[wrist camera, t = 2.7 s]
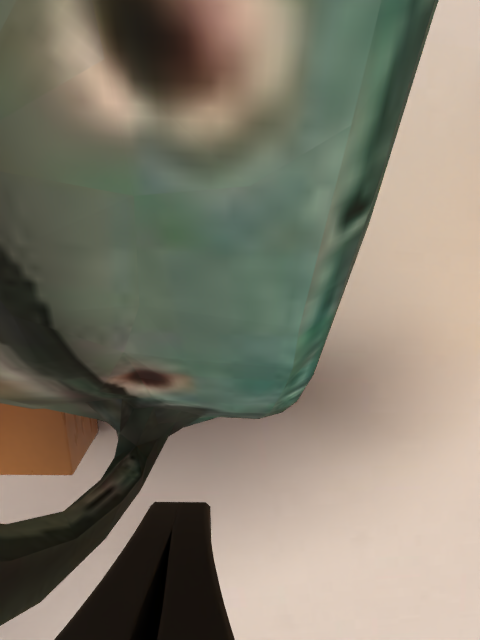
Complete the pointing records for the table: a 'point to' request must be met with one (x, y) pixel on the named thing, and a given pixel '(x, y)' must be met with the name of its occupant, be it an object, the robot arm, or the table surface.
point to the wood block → (42, 441)
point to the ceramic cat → (179, 219)
